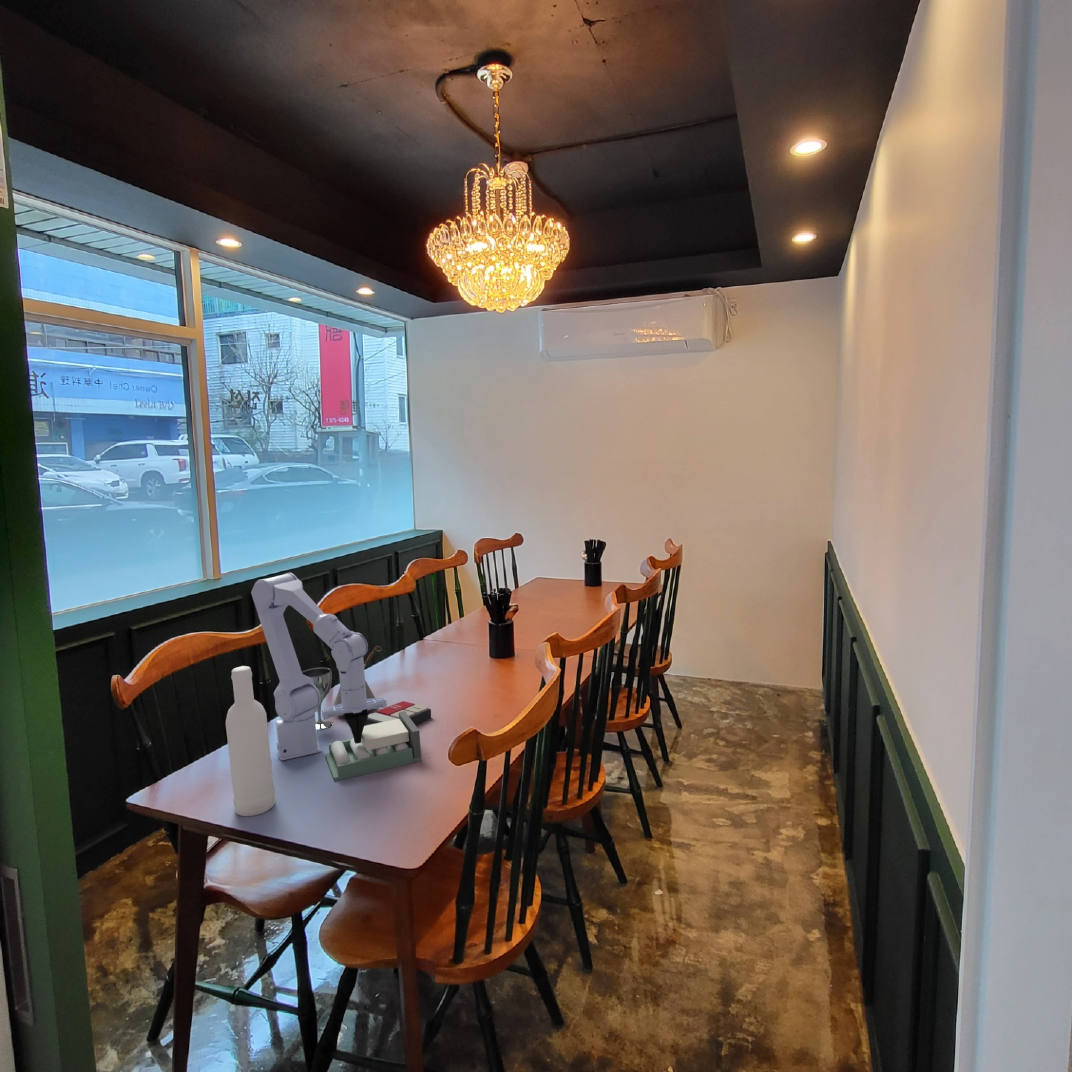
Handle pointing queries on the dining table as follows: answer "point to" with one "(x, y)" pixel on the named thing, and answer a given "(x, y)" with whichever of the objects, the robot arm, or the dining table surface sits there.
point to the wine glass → (320, 690)
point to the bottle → (249, 748)
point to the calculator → (392, 712)
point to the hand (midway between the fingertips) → (357, 741)
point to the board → (384, 734)
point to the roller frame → (373, 754)
